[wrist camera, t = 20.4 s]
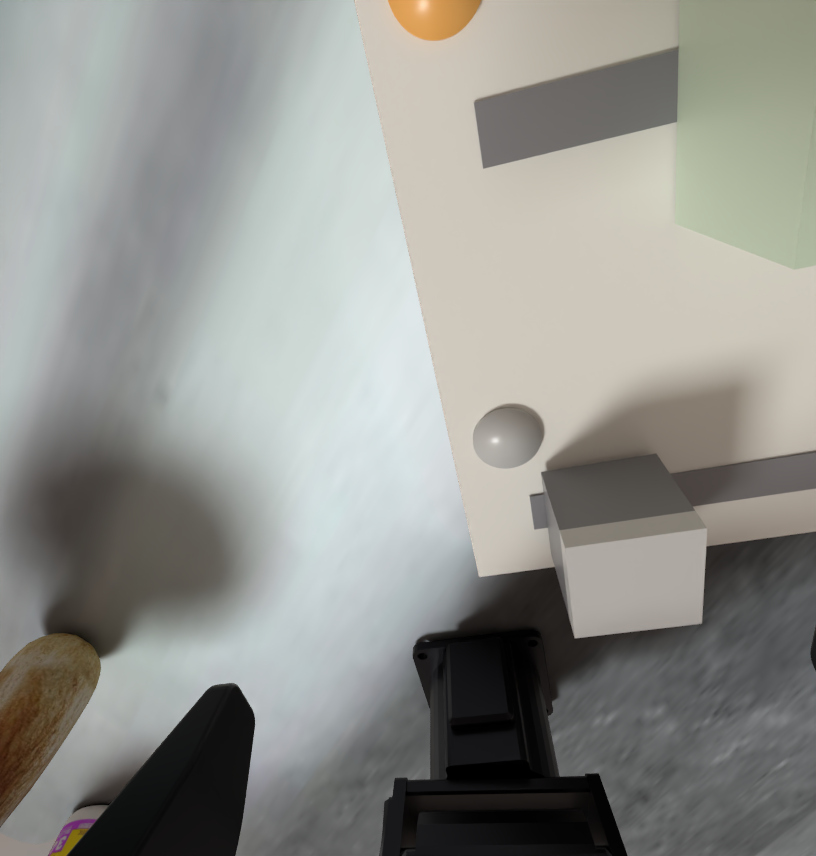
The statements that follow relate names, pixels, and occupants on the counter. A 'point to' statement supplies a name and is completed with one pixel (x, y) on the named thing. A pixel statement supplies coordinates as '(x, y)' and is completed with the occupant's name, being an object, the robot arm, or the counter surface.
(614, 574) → the plain breaker lever
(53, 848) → the supplement bottle
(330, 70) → the counter surface
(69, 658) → the decorative mushroom
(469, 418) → the panel
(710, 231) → the cap
